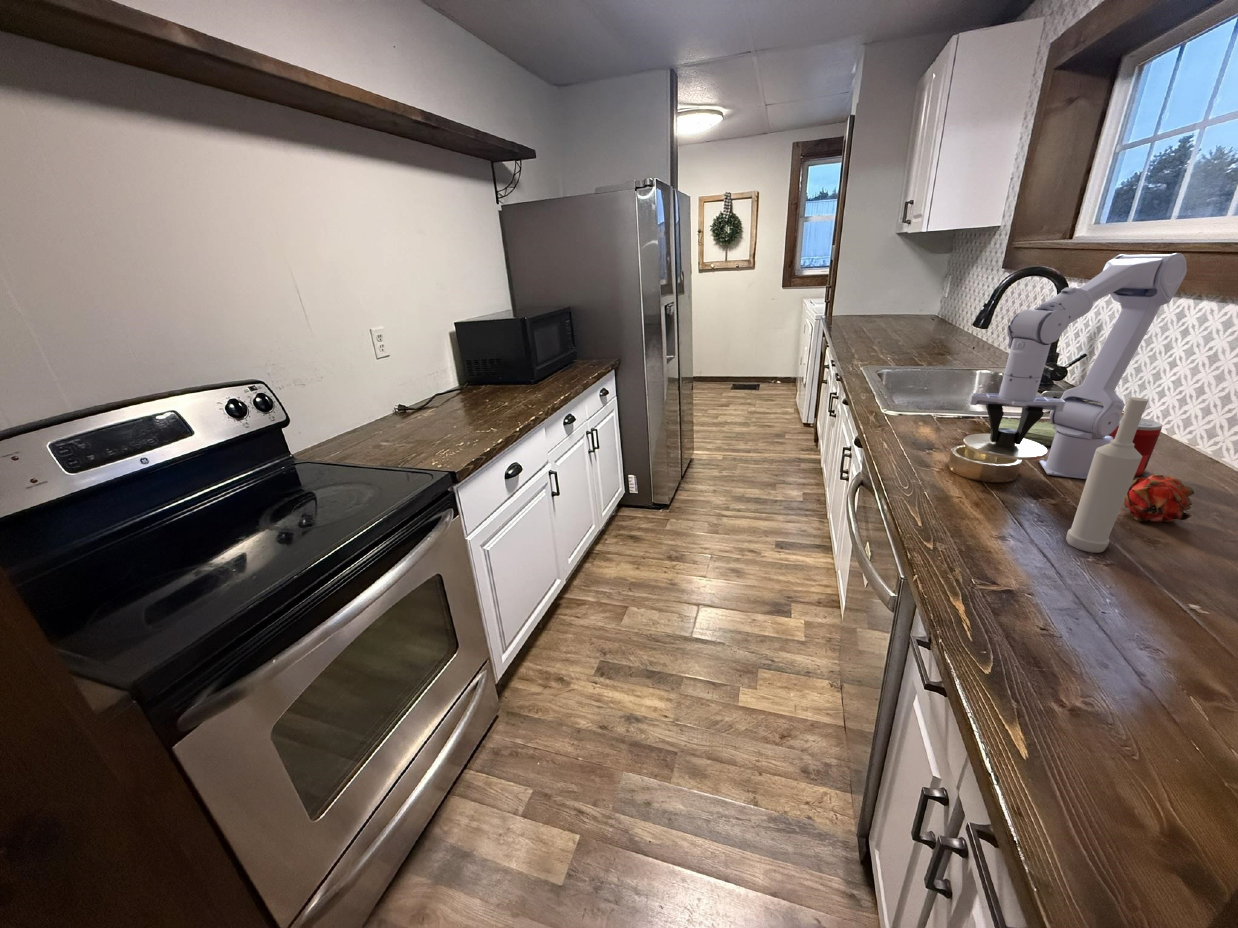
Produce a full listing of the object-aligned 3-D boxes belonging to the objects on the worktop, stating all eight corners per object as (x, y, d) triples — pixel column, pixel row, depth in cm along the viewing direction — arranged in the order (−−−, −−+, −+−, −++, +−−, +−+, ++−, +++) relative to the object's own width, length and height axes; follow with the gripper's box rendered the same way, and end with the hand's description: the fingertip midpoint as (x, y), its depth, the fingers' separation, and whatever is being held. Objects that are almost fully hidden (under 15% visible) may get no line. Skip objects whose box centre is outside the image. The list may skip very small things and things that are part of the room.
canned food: (1153, 477, 104) (1173, 427, 100) (1108, 475, 106) (1126, 427, 102) (1127, 463, 111) (1144, 416, 107) (1085, 462, 113) (1101, 415, 109)
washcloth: (1083, 450, 119) (1087, 437, 118) (993, 441, 127) (996, 429, 126) (1068, 433, 130) (1072, 421, 129) (986, 426, 138) (989, 415, 136)
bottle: (1096, 539, 84) (1150, 395, 74) (1113, 555, 79) (1172, 404, 70) (1059, 535, 86) (1107, 394, 76) (1073, 550, 81) (1126, 403, 72)
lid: (1037, 443, 103) (1043, 424, 102) (1053, 467, 92) (1060, 445, 91) (959, 435, 109) (963, 417, 108) (965, 457, 98) (970, 437, 97)
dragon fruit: (1156, 514, 94) (1144, 545, 87) (1114, 480, 96) (1100, 509, 90) (1210, 491, 87) (1201, 523, 81) (1164, 456, 89) (1152, 485, 83)
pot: (1011, 464, 113) (1015, 448, 112) (1022, 486, 103) (1027, 468, 102) (946, 457, 119) (949, 441, 117) (950, 477, 109) (954, 460, 107)
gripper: (979, 377, 95) (963, 443, 100) (1077, 382, 88) (1055, 453, 94) (975, 369, 101) (960, 432, 106) (1066, 374, 94) (1046, 441, 99)
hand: (1004, 441), depth 100 cm, fingers closed on lid, 3 cm apart
